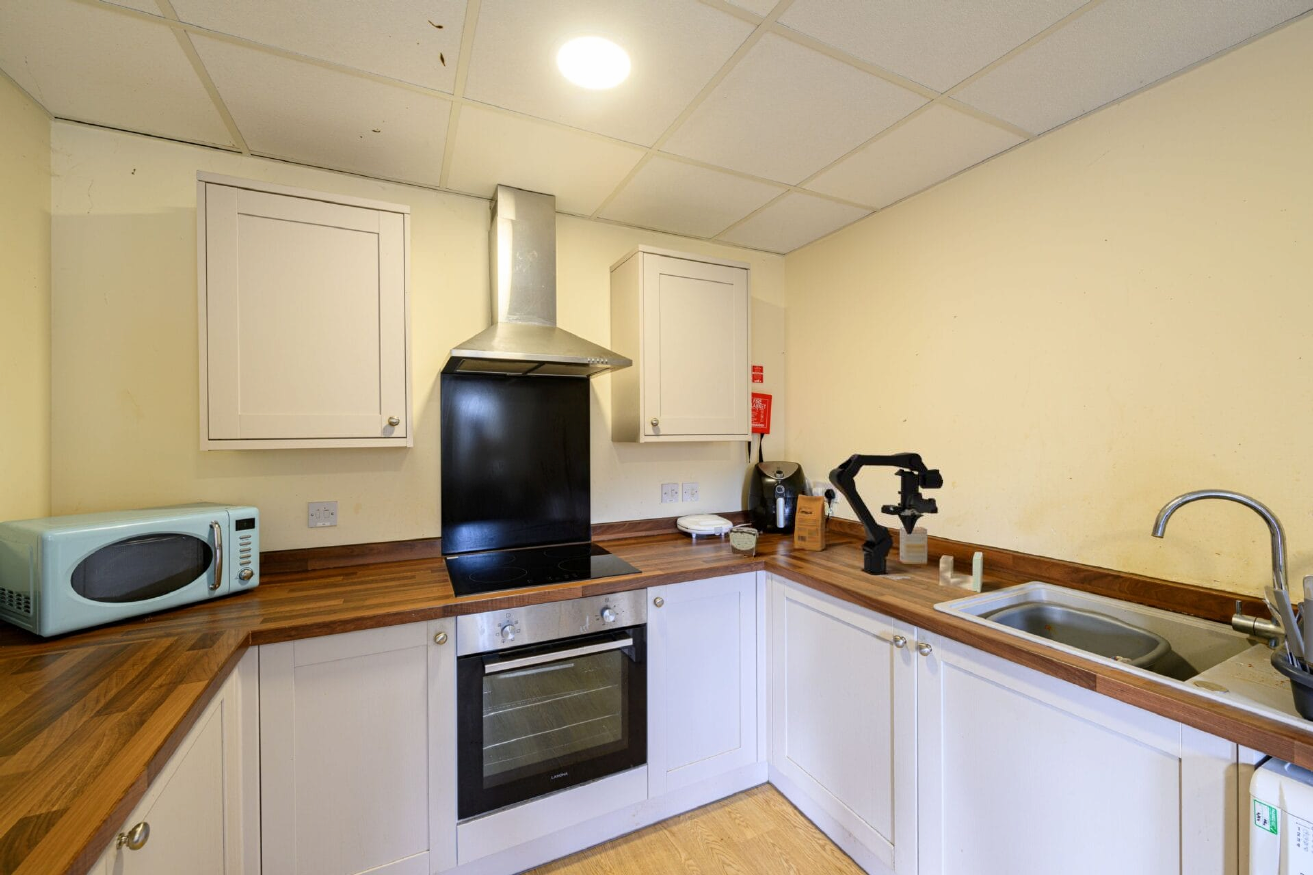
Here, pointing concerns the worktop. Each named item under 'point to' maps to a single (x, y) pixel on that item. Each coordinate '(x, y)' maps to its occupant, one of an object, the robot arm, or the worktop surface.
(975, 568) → the board
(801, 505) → the coffee package
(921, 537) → the supplement box
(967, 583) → the stepped block
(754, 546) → the food container
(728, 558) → the worktop surface
